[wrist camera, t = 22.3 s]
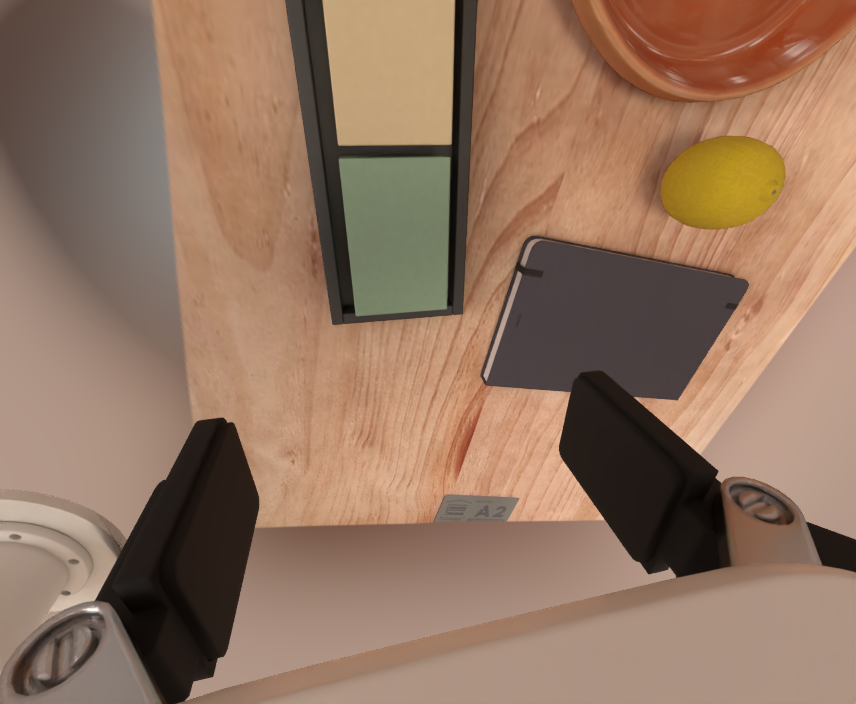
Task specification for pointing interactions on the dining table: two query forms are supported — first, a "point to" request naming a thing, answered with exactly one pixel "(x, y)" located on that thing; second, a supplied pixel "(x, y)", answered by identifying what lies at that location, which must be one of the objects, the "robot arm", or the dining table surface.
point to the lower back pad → (397, 231)
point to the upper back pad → (391, 70)
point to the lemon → (722, 182)
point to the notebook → (607, 320)
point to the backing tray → (326, 152)
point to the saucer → (712, 42)
